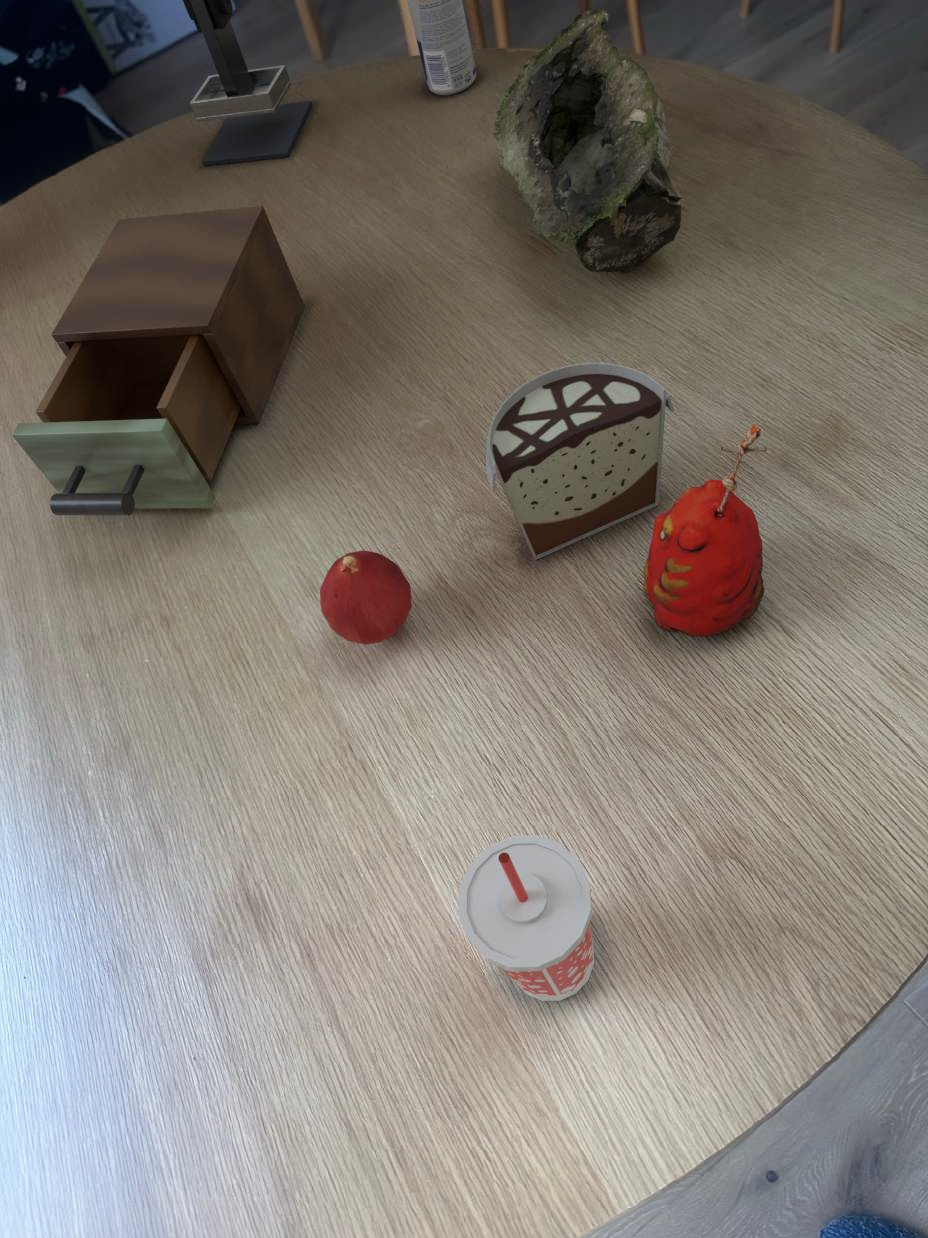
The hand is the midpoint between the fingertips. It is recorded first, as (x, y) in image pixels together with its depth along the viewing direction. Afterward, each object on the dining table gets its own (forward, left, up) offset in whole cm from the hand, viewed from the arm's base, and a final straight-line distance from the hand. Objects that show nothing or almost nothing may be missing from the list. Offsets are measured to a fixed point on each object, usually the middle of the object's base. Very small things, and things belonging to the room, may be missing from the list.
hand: (215, 22), depth 99 cm
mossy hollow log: (+39, -20, -12) cm, 45 cm away
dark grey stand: (0, -1, -8) cm, 8 cm away
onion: (+29, -64, -12) cm, 71 cm away
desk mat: (0, 0, -12) cm, 12 cm away
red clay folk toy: (+50, -61, -12) cm, 80 cm away
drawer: (+7, -50, -11) cm, 51 cm away
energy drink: (+21, +6, -12) cm, 25 cm away
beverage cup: (+43, -84, -12) cm, 95 cm away
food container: (+41, -53, -12) cm, 68 cm away
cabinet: (+7, -37, -12) cm, 40 cm away
